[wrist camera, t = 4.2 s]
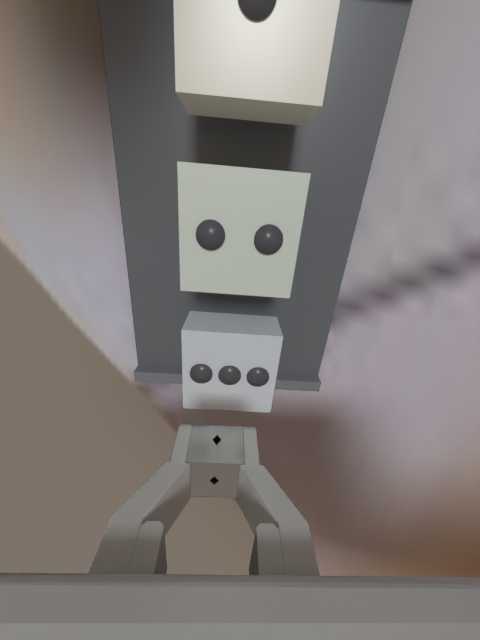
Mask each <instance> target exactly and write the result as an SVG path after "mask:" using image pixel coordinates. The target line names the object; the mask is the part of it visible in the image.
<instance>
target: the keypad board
mask: <svg viewBox="0 0 480 640" xmlns="http://www.w3.org/2000/svg"><path fill="white" fill-rule="evenodd" d="M412 1H413V0H340V4H339V10H338V16H337V22H336V28H335V34H334V40H333V46H332V52H331V58H330V63H329V69H328V75H327V81H326V87H325V93H324V99H323V105H322V107H321V108H320V110H319V111H318V112H317V113H316V114H315V115H314V116H313V118H312V119H311V120H310V121H309V122H308V123H307V125H306V126H301V125H291V124H280V123H270V122H260V121H249V120H239V119H229V118H218V117H208V116H198V115H188V113H187V111H186V109H185V108H184V106H183V104H182V102H181V101H180V99H179V97H178V95H177V93H176V90H175V48H174V6H173V0H98V9H99V18H100V27H101V36H102V45H103V54H104V63H105V72H106V81H107V90H108V98H109V107H110V116H111V125H112V134H113V143H114V152H115V161H116V170H117V179H118V188H119V197H120V206H121V215H122V224H123V233H124V242H125V251H126V260H127V269H128V278H129V287H130V295H131V304H132V313H133V322H134V331H135V340H136V349H137V358H138V366H137V368H136V369H135V371H134V375H135V381H144V382H161V383H179V384H183V382H182V340H181V329H182V327H183V325H184V323H185V321H186V318H187V316H188V314H189V312H190V311H200V312H215V313H230V314H244V315H259V316H274V317H277V319H278V322H279V325H280V328H281V331H282V334H283V341H282V347H281V353H280V359H279V365H278V371H277V377H276V383H275V389H284V390H301V391H319V388H320V385H321V381H320V379H319V377H318V373H319V369H320V365H321V361H322V357H323V353H324V349H325V345H326V341H327V337H328V333H329V329H330V325H331V321H332V317H333V313H334V310H335V306H336V302H337V298H338V294H339V290H340V286H341V282H342V278H343V274H344V270H345V266H346V262H347V258H348V254H349V250H350V246H351V242H352V238H353V234H354V230H355V227H356V223H357V219H358V215H359V211H360V207H361V203H362V199H363V195H364V191H365V187H366V183H367V179H368V175H369V171H370V167H371V163H372V159H373V155H374V151H375V147H376V144H377V140H378V136H379V132H380V128H381V124H382V120H383V116H384V112H385V108H386V104H387V100H388V96H389V92H390V88H391V84H392V80H393V76H394V72H395V68H396V64H397V61H398V57H399V53H400V49H401V45H402V41H403V37H404V33H405V29H406V25H407V21H408V17H409V13H410V9H411V5H412ZM177 161H179V162H190V163H201V164H212V165H224V166H235V167H246V168H257V169H268V170H279V171H290V172H302V173H311V176H310V182H309V188H308V194H307V200H306V205H305V211H304V217H303V223H302V229H301V235H300V241H299V247H298V253H297V259H296V265H295V270H294V276H293V282H292V288H291V294H290V298H278V297H263V296H249V295H235V294H221V293H207V292H193V291H180V257H179V215H178V173H177Z"/></svg>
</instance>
